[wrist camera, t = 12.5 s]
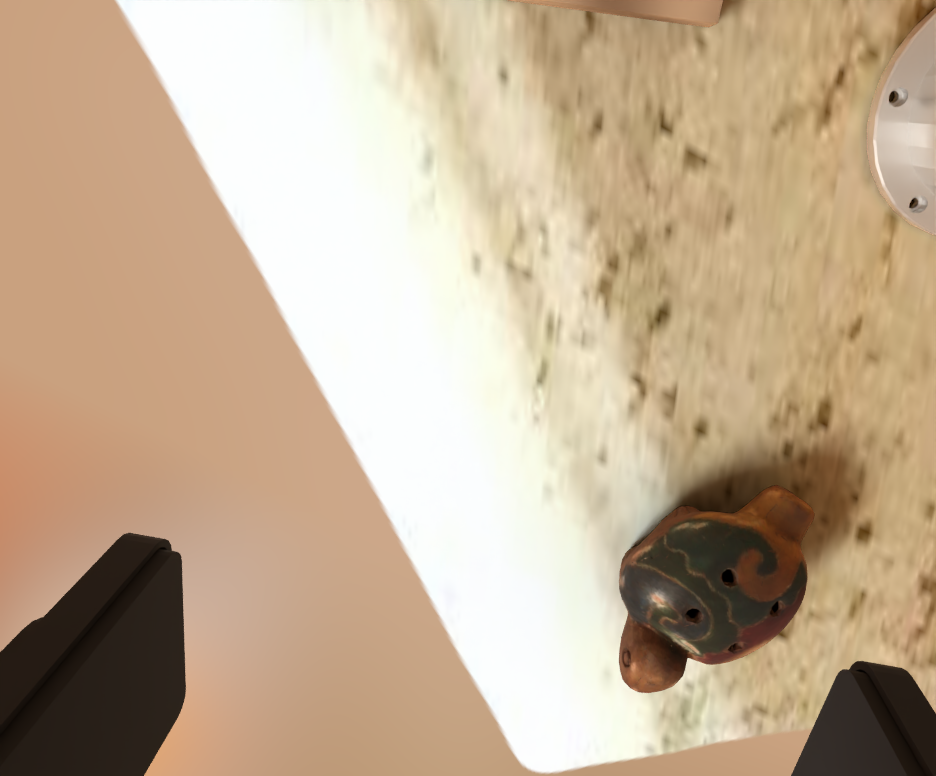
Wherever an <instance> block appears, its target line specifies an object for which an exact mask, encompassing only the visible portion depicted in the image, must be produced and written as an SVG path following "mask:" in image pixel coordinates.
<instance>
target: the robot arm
mask: <svg viewBox="0 0 936 776" xmlns="http://www.w3.org/2000/svg"><path fill="white" fill-rule="evenodd" d="M891 92H894V94H895V98H894V100H893V101H892V102H889V95H890V93H891ZM867 155H868V159H869V164H870V169H871V174H872V176H873V178H874V181H875V183H876V185H877V187H878V189H879V192H880V194H881V195H882V196H883V198H884V199H885V200H886V202H887V203H888V204H889V206H890V207H891V208H892V209H893V211H894V212H896V213H897V214H898V215H899V216H901V217H902V218H903V219H904V220H906V221H907V222H908V223H909V224H911V225H913V226H915V227H917V228H919V229H921V230H923V231H925V232H927V233H929V234H932V235H936V8H934V9H933V10H932V11H931V12H930V13H929V14H928V15H927V16H926V17H925V18H924V19H923V20H922V21H920V22H919V23H918V24H917V25H916V26H915V27H914V28H913V30H912V31H911V32H910V33H909V35H908V36H907V37H906V38H905V40H904V41H903V42H902V43H901V45H900V46H899V47H898V48H897V50H896V51H895V53H894V55H893V56H892V58H891V60H890V62H889V63H888V65H887V67H886V68H885V70H884V72H883V74H882V75H881V78H880V81H879V83H878V86H877V89H876V91H875V94H874V97H873V99H872V103H871V108H870V113H869V118H868V123H867ZM913 198H914V200H915V201H914V204H913V205H912V206H911V207H909V204H910V202H911V200H912V199H913ZM185 690H186V683H185V652H184V619H183V588H182V560H181V555H180V554H179V553H178V552H175V551H172V549H171V544H170V543H169V541H168V540H166V539H161V538H155V537H149V536H144V535H139V534H133V533H127V534H124V535H122V536H121V537H120V538H119V539H118V540H117V541H116V542H115V543H114V544H113V545H112V546H111V547H110V548H109V549H108V550H107V551H106V552H105V553H104V554H103V555H102V557H101V558H100V559H99V560H98V561H97V562H96V563H95V564H94V565H93V566H92V567H91V568H90V569H89V570H88V571H87V572H86V573H85V574H84V576H82V577H81V579H80V580H79V581H78V582H77V583H76V584H75V585H74V586H73V587H72V588H71V589H70V590H69V591H68V592H67V593H66V594H65V595H64V596H63V597H62V598H61V599H60V600H59V601H58V602H57V604H56V605H55V606H54V607H53V608H52V609H51V610H50V611H49V612H48V613H47V614H46V615H45V616H44V617H42V618H39V619H37V620H34V621H33V622H31V623H30V624H29V625H28V626H26V627H25V628H24V629H23V630H22V631H21V632H20V633H19V634H18V635H17V636H16V637H15V638H14V639H13V640H12V641H11V642H10V643H9V644H8V645H7V646H6V647H5V648H4V649H3V650H2V651H1V652H0V776H144V774H145V773H146V771H147V769H148V767H149V766H150V764H151V762H152V761H153V759H154V757H155V755H156V754H157V752H158V750H159V748H160V747H161V745H162V744H163V742H164V740H165V739H166V737H167V735H168V733H169V732H170V730H171V728H172V726H173V725H174V723H175V721H176V720H177V718H178V716H179V714H180V711H181V709H182V706H183V703H184V699H185V692H186V691H185ZM791 776H936V713H935V712H934V710H933V709H932V707H931V705H930V704H929V702H928V701H927V699H926V698H925V696H924V695H923V693H922V691H921V690H920V688H919V687H918V685H917V684H916V682H915V680H914V679H913V677H912V676H911V675H910V674H909V673H908V672H907V671H906V670H904V669H902V668H898V667H893V666H887V665H881V664H875V663H870V662H864V661H857V662H855V663H854V664H853V665H852V666H851V668H850V669H849V670H841V671H840V672H839V673H838V675H837V676H836V679H835V681H834V683H833V685H832V687H831V689H830V692H829V694H828V696H827V698H826V700H825V703H824V705H823V707H822V709H821V711H820V714H819V716H818V718H817V720H816V722H815V725H814V727H813V729H812V731H811V733H810V735H809V738H808V740H807V742H806V744H805V746H804V749H803V751H802V753H801V755H800V757H799V760H798V762H797V764H796V766H795V768H794V771H793V773H792V775H791Z"/></svg>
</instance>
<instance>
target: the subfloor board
mask: <svg viewBox="0 0 936 776" xmlns="http://www.w3.org/2000/svg"><path fill="white" fill-rule="evenodd" d="M509 1H516V2H524V3H531V4H538V5H546V6H553V7H561V8H568V9H576V10H583V11H591V12H598V13H605V14H613V15H620V16H628V17H635V18H643V19H650V20H658V21H665V22H672V23H680V24H687V25H695V26H702V27H710V26H713V25H715V24H717V23H718V20H719V15H720V11H721V7H722V3H723V0H509Z"/></svg>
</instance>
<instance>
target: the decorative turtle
mask: <svg viewBox="0 0 936 776" xmlns="http://www.w3.org/2000/svg"><path fill="white" fill-rule="evenodd" d="M813 519H814V512H813V509H812V508H811V507H810V506H809V505H808V504H807V503H806V502H804V501H803V500H801V499H800V498H798V497H796V496H795V495H794V494H793V493H792V492H790V491H788V490H786V489H785V488H782V487H780V486H778V485H774V486H771V487H769V488H767V489H765V490H763V491H762V492H760V493H759V494H758V495H757V496H756V497H755V498H754V499H753V500H751V501H750V502H749V503H748V504H747V505H746V506H744V507H743V508H742V509H740V510H739V511H738V512H735V513H733V514H732V513H723V512H711V511H709V512H701V511H699V510H697V509H696V508H694V507H690V506H681V507H678V508H677V509H675V510H674V511H673V512H671V513H670V514H669V515H668V516H666V517H665V518H664V519H663V520H662V521H661V522H660V523H659V525H658V526H657V527H656V528H655V529H654V530H653V531H652V532H651V533H650V534H649V535H648V536H647V537H646V538H645V539H644V540H643V541H642V542H641V543H640V544H639V545H638V546H634V547H633V548H632V549H629V550H628V551H627V552H626V553H625V556H624V557H623V559H622V563H621V568H620V578H619V589H620V593H621V597H622V600H623V602H624V604H625V606H626V608H627V610H628V617H627V621H626V624H625V627H624V630H623V634H622V637H621V644H620V651H619V665H620V671H621V675H622V678H623V680H624V682H625V683H626V684H627V685H628V686H629V687H630V688H632V689H633V690H635V691H637V692H642V693H651V692H657V691H662V690H665V689H668V688H670V687H672V686H674V685H675V684H676V683H677V682H678V681H679V680H680V678H681V677H682V676H683V674H684V671H685V667H686V662H687V658H691V659H693V660H696V661H699V662H702V663H704V664H710V665H713V664H721V663H726V662H730V661H733V660H736V659H739V658H741V657H744V656H746V655H748V654H750V653H752V652H754V651H755V650H757V649H759V648H760V647H762V646H764V645H765V644H767V643H768V642H769V641H771V640H772V639H773V638H774V637H775V636H776V635H778V634H779V633H780V632H781V631H782V630H783V629H784V628H785V627H786V625H787V624H788V623H789V622H790V620H791V619H792V618H793V617H794V615H795V613H796V612H797V610H798V608H799V607H800V605H801V603H802V600H803V597H804V595H805V591H806V584H807V566H806V562H805V559H804V556H803V554H802V552H801V541H802V539H803V537H804V535H805V533H806V531H807V530H808V528H809V526H810V525H811V523H812V521H813Z"/></svg>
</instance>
